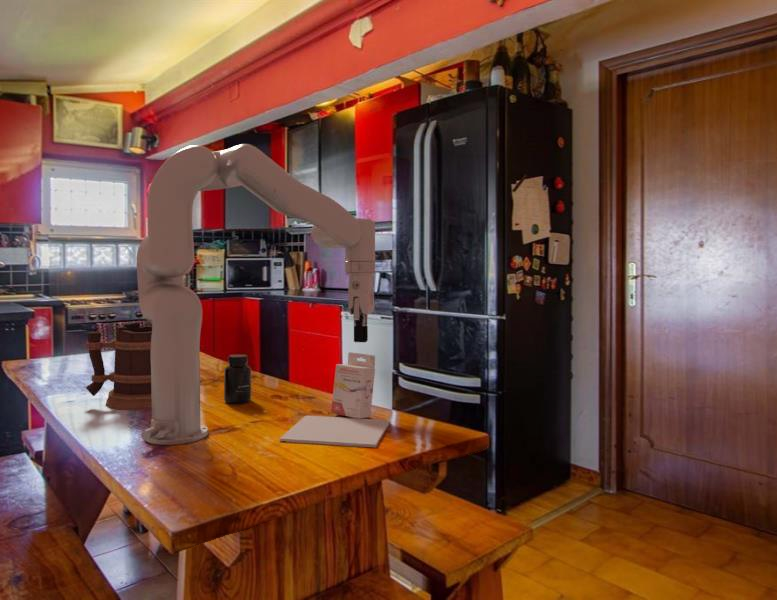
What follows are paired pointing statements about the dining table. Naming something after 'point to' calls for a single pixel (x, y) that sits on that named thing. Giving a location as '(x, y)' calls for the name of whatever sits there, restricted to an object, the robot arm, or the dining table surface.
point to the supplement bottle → (237, 380)
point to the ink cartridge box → (354, 386)
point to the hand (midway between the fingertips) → (360, 341)
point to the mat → (337, 431)
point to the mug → (124, 367)
